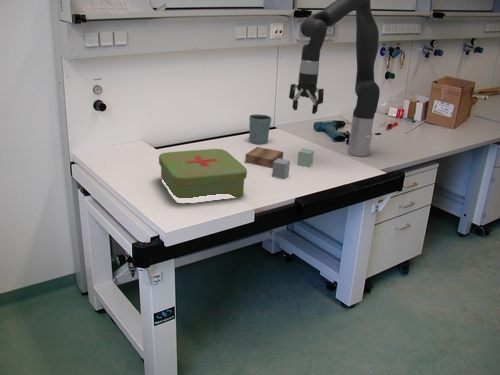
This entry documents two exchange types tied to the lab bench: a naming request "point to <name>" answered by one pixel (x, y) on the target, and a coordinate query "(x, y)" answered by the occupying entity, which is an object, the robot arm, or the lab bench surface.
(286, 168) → the grey block
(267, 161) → the walnut block
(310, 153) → the green block
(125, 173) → the lab bench surface
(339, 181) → the lab bench surface
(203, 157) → the first aid kit
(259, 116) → the grey-green plant pot
